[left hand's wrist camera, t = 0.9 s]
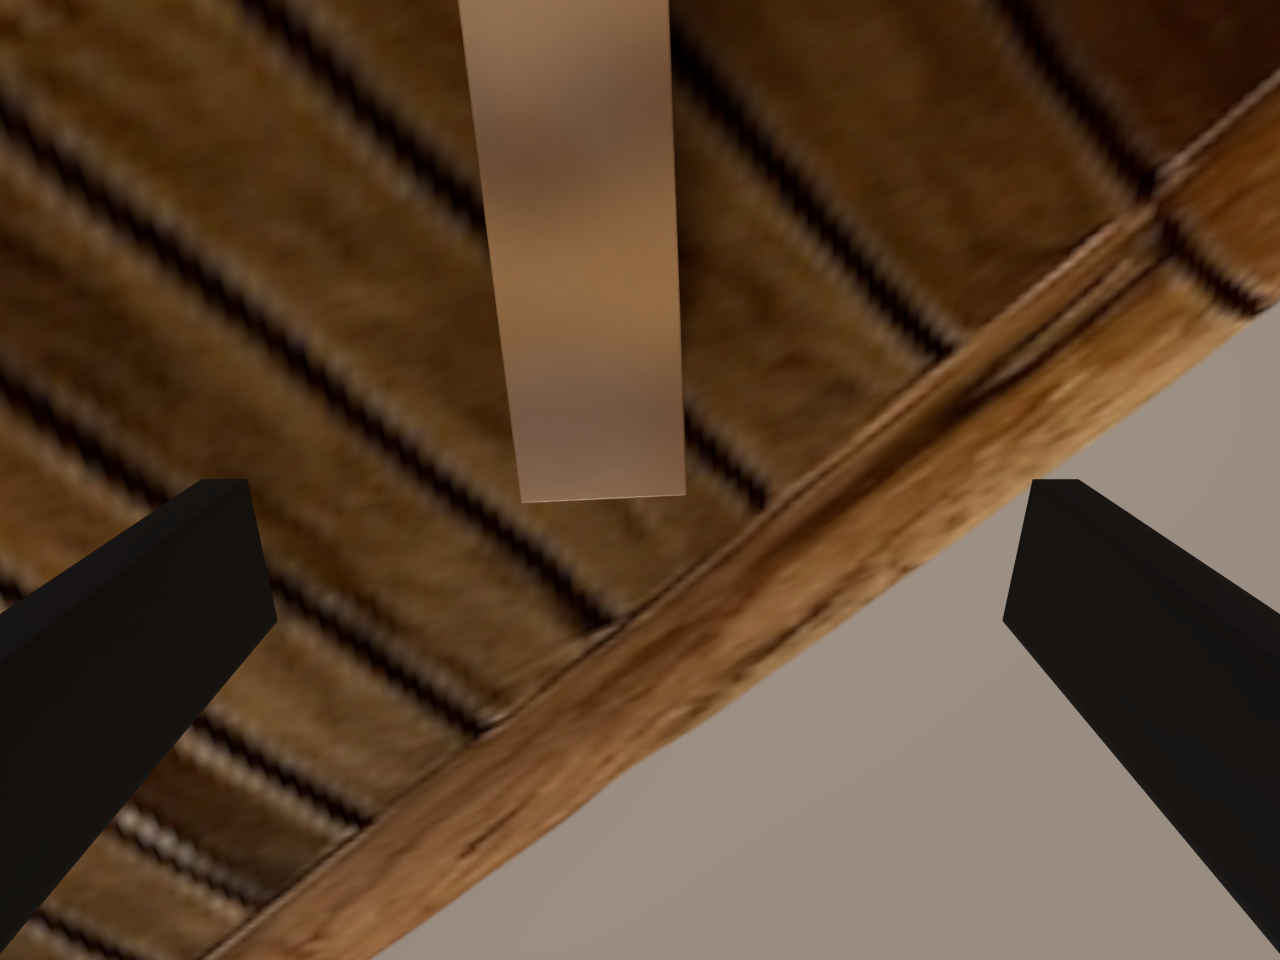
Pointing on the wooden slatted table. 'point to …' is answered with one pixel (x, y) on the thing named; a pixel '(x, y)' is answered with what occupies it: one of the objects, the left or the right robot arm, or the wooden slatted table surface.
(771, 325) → the wooden slatted table surface
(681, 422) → the bar
